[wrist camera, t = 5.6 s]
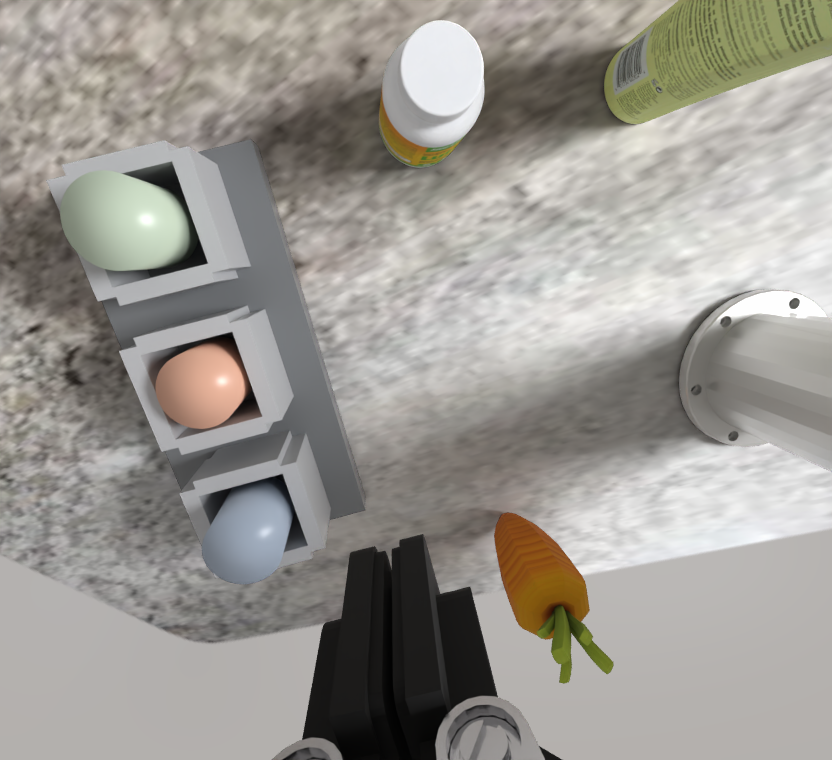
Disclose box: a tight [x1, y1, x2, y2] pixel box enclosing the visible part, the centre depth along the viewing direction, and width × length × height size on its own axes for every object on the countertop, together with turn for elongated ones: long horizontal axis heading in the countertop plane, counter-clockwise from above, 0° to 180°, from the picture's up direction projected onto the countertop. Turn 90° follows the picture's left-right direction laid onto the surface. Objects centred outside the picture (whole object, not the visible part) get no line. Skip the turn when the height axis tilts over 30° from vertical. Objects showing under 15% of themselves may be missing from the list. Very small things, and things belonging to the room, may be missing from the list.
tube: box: [604, 0, 832, 124], centre depth 23 cm, size 6×5×20 cm
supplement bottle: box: [379, 20, 484, 168], centre depth 27 cm, size 5×5×10 cm
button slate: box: [202, 477, 295, 584], centre depth 29 cm, size 4×4×5 cm
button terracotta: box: [156, 337, 253, 429], centre depth 29 cm, size 4×4×5 cm
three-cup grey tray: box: [46, 139, 365, 578], centre depth 31 cm, size 12×26×7 cm, turn 14°
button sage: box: [60, 170, 198, 271], centre depth 24 cm, size 4×4×5 cm
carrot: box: [494, 513, 613, 683], centre depth 32 cm, size 5×5×15 cm
